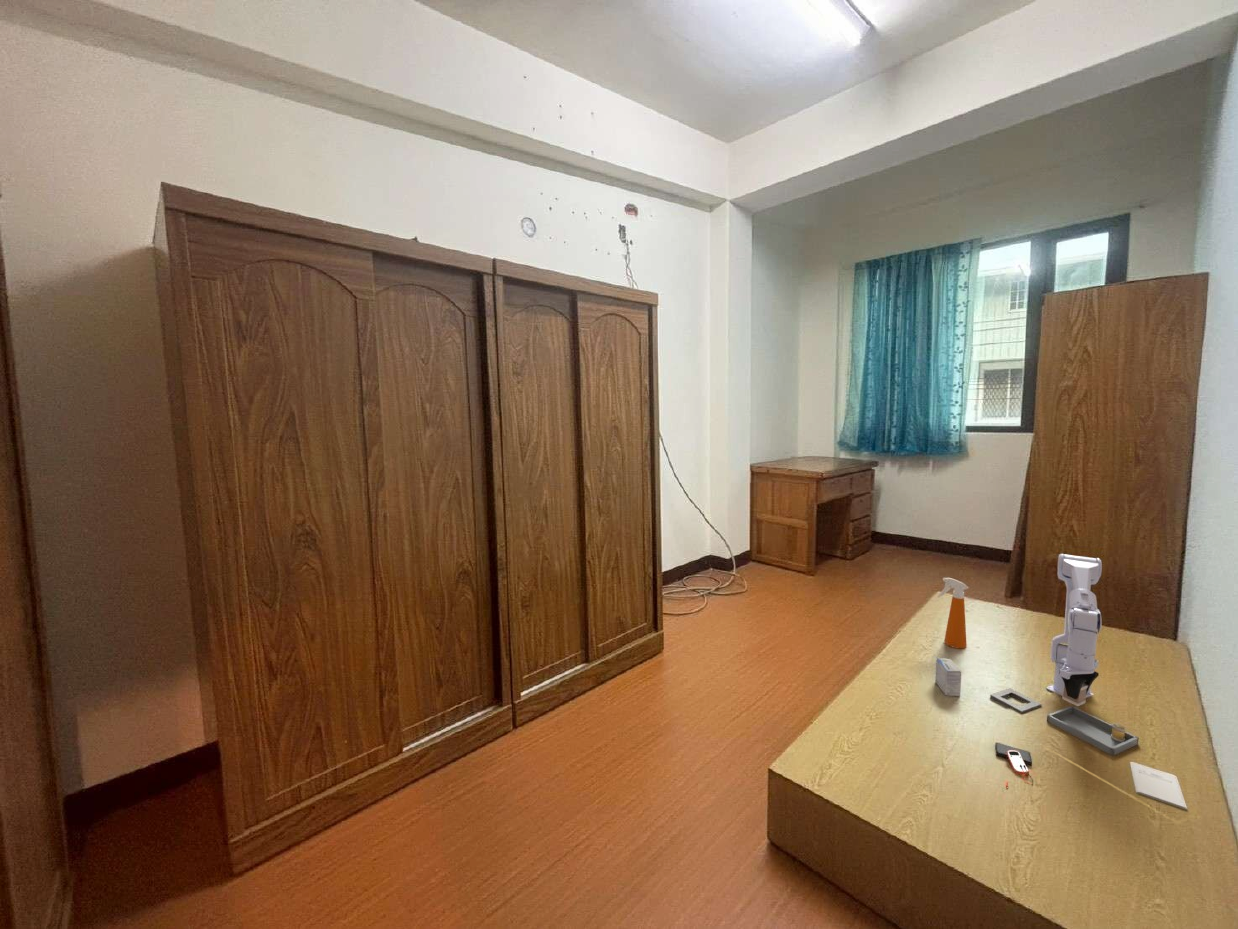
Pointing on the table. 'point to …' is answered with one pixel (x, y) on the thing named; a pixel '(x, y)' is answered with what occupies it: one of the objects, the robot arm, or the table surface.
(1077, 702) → the block
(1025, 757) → the multimeter
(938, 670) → the medicine box
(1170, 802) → the external hard drive
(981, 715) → the table surface
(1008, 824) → the table surface
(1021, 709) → the grey square frame
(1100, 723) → the parts tray
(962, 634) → the spray bottle
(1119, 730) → the cylinder
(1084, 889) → the table surface
